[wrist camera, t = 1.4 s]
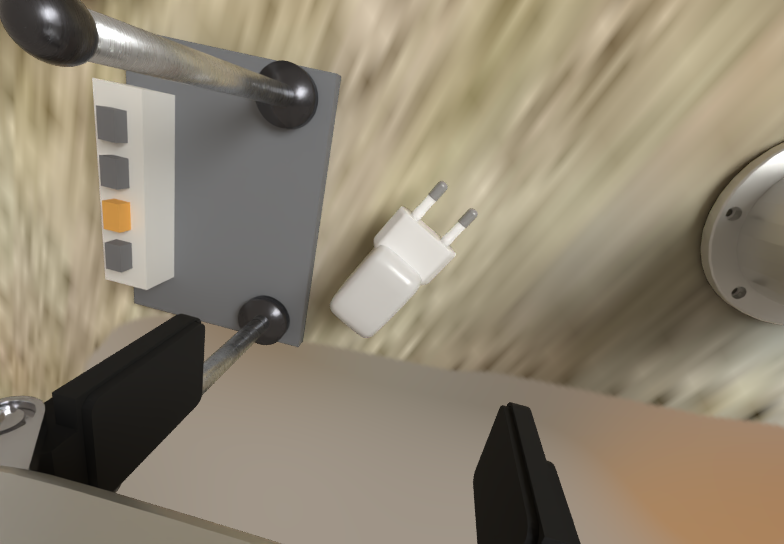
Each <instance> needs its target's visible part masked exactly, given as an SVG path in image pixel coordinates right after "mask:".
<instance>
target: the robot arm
mask: <svg viewBox="0 0 784 544" xmlns="http://www.w3.org/2000/svg"><path fill="white" fill-rule="evenodd" d="M726 212H727V213H726ZM700 249H701V260H702V266H703V269H704V272H705V275H706V278H707V280H708V282H709V283H710V285H711V286H712V288H713V289H714V291H715V292H716V293H717V294H718V295H719V296H720V297H721V298H722V299H723V300H724V301H725V302H726V303H728V304H729V305H731V306H733V307H734V308H736V309H737V310H739V311H741V312H742V313H744V314H747V315H749V316H751V317H753V318H756V319H758V320H761V321H765V322H769V323H773V324H778V325H784V142H783V143H781V144H779V145H777V146H775V147H773V148H771V149H770V150H768V151H767V152H765V153H764V154H762V155H761V156H759V157H758V158H756V159H755V160H753V161H752V162H750V163H749V164H748V165H747V166H746V167H745V168H744V169H743V170H742V171H741V172H739V173H738V174H737V175H736V176H735V177H734V178H733V179H732V180H731V181H730V183H729V184H728V185H727V186H726V188H725V189H724V190H723V191H722V193H721V194H720V195H719V197H718V198H717V200H716V202H715V204H714V205H713V207H712V209H711V211H710V212H709V215H708V218H707V221H706V223H705V226H704V229H703V233H702V241H701V248H700ZM204 342H205V326H204V325H203V324H201V320H200V319H199V318H197V317H193V316H189V315H186V314H178V315H176V316H174V317H173V318H171V319H169V320H168V321H166V322H164V323H163V324H161V325H160V326H158V327H156V328H155V329H153V330H152V331H150V332H148V333H147V334H145V335H144V336H142V337H140V338H139V339H137V340H136V341H134V342H132V343H131V344H129V345H128V346H126V347H124V348H123V349H121V350H120V351H118V352H116V353H115V354H113V355H112V356H110V357H108V358H107V359H105V360H103V361H102V362H100V363H99V364H97V365H95V366H94V367H92V368H91V369H89V370H87V371H86V372H84V373H83V374H81V375H79V376H78V377H76V378H75V379H73V380H71V381H70V382H68V383H67V384H65V385H63V386H62V387H60V388H59V389H57V390H55V391H54V392H52V398H51V399H49V400H48V401H46V402H45V403H43V402H42V401H41V400H40V399H37V398H35V397H30V396H12V397H6V398H1V399H0V544H281V543H278V542H275V541H272V540H269V539H265V538H262V537H259V536H256V535H252V534H249V533H246V532H243V531H239V530H236V529H233V528H229V527H226V526H223V525H220V524H216V523H213V522H210V521H207V520H203V519H200V518H197V517H193V516H190V515H187V514H183V513H180V512H177V511H173V510H170V509H166V508H163V507H160V506H157V505H153V504H150V503H147V502H143V501H140V500H137V499H134V498H130V497H127V496H124V495H120V494H117V493H114V491H115V489H116V488H117V487H118V486H119V485H120V484H121V483H122V482H123V481H124V480H125V479H126V478H127V477H128V476H129V475H130V474H131V473H132V472H133V471H134V470H135V469H136V468H137V467H138V465H140V463H142V462H143V461H144V459H146V457H147V456H148V455H149V454H150V453H151V452H152V451H153V450H154V449H155V448H156V447H157V446H158V445H159V444H160V443H161V442H162V441H163V440H164V439H165V438H166V437H167V436H168V435H169V434H170V433H171V432H172V430H174V429H175V428H176V427H177V425H178V424H179V423H180V422H181V421H182V420H183V419H184V418H185V417H186V416H187V415H188V414H189V413H190V412H191V411H192V410H193V409H194V408H195V407H196V406H197V405H198V403H199V402H200V400H201V397H202V391H203V366H204ZM473 489H474V503H475V516H476V529H477V543H478V544H580V541H579V538H578V535H577V532H576V529H575V526H574V522H573V519H572V517H571V513H570V510H569V507H568V504H567V501H566V498H565V496H564V492H563V490H562V486H561V483H560V480H559V477H558V474H557V471H556V469H555V466H554V464H552V463H551V462H549V461H546V458H545V454H544V452H543V448H542V445H541V442H540V438H539V435H538V432H537V429H536V425H535V422H534V419H533V416H532V413H531V410H530V408H529V407H526V406H522V405H518V404H515V403H511V402H509V403H508V404H507V406H503V405H502V406H501V407H500V409H499V411H498V414H497V416H496V419H495V421H494V424H493V426H492V429H491V432H490V434H489V437H488V439H487V442H486V444H485V447H484V450H483V452H482V455H481V457H480V460H479V462H478V465H477V467H476V470H475V474H474V479H473Z"/></svg>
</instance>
